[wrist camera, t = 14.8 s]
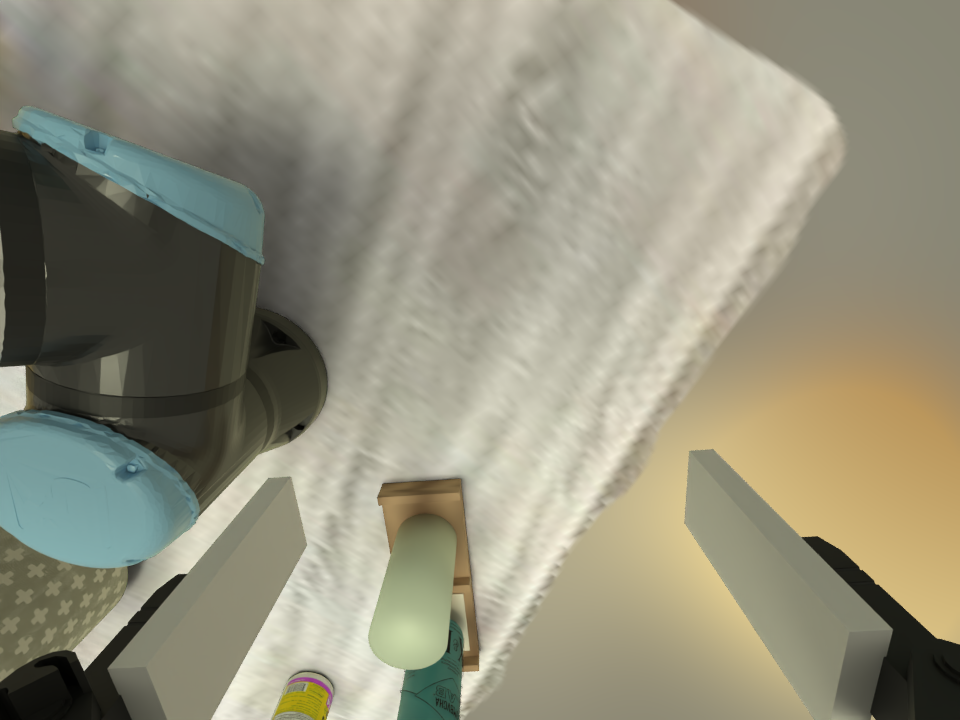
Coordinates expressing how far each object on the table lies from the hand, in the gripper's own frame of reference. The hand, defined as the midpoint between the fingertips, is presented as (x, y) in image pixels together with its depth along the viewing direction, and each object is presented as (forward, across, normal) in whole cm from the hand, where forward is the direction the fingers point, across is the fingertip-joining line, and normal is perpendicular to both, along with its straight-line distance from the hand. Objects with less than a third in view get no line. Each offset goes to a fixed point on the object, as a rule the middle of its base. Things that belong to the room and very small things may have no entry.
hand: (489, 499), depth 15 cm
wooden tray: (+32, -9, -32) cm, 46 cm away
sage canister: (+30, -9, -26) cm, 41 cm away
